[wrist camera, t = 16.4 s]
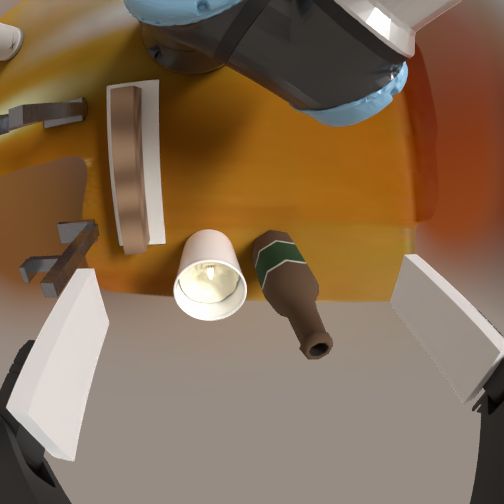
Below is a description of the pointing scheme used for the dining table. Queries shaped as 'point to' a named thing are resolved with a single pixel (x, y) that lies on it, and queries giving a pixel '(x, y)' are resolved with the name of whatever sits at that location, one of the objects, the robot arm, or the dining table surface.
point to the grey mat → (144, 159)
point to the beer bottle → (291, 290)
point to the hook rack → (69, 232)
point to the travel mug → (9, 41)
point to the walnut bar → (129, 167)
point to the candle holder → (209, 277)
